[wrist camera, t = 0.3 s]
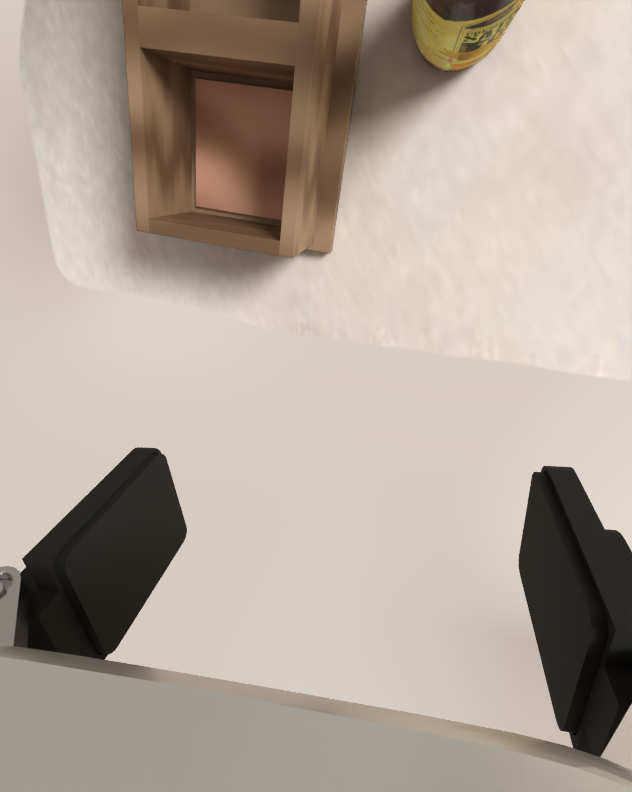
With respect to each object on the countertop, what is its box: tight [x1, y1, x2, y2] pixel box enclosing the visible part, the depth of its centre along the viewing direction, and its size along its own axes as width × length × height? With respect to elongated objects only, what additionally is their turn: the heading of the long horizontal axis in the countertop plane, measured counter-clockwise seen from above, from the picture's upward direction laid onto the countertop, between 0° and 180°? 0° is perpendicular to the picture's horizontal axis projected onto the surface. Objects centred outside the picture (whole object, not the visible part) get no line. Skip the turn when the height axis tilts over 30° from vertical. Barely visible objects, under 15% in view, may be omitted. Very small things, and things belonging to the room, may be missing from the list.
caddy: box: [122, 0, 367, 258], centre depth 30 cm, size 25×15×8 cm, turn 172°
